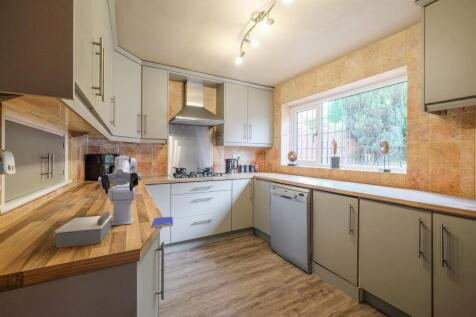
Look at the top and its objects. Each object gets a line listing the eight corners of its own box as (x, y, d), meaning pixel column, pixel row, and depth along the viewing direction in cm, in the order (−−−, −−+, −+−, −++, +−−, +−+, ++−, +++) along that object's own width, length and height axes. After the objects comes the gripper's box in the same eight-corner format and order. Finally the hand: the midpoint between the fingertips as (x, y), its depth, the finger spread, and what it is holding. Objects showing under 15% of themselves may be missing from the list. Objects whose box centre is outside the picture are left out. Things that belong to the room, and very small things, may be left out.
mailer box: (75, 231, 82) (75, 220, 82) (110, 228, 86) (111, 217, 86) (56, 248, 67) (56, 233, 67) (100, 243, 71) (100, 229, 71)
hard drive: (173, 223, 90) (172, 216, 102) (152, 225, 87) (154, 217, 99) (173, 227, 90) (172, 219, 102) (152, 229, 87) (154, 221, 99)
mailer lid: (74, 219, 82) (75, 212, 82) (111, 216, 86) (111, 210, 86) (55, 232, 66) (55, 224, 67) (101, 228, 71) (101, 221, 71)
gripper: (99, 164, 83) (92, 182, 72) (140, 162, 89) (140, 178, 77) (102, 180, 86) (96, 199, 75) (141, 177, 91) (141, 194, 80)
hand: (118, 190), depth 76 cm, fingers open, 7 cm apart
